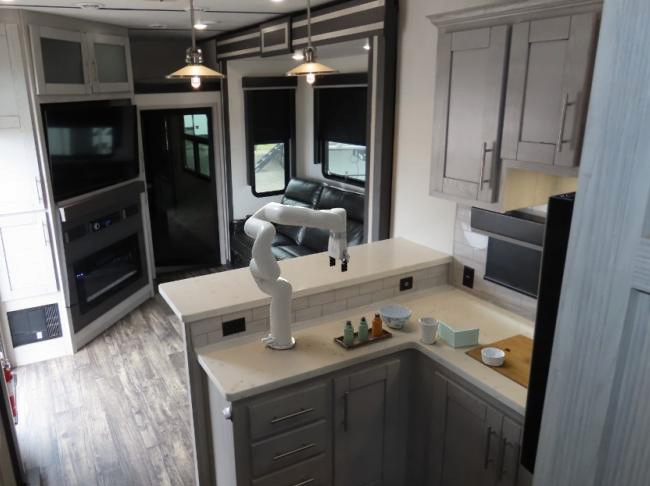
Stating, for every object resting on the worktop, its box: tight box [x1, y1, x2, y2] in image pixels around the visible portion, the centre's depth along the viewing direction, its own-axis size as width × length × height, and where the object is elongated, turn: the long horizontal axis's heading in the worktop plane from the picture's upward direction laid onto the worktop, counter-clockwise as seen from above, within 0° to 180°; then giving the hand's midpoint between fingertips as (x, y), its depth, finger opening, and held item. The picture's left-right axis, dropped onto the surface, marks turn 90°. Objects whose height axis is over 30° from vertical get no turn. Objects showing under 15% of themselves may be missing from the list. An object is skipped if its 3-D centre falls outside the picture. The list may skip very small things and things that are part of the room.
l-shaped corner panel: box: [438, 320, 480, 349], centre depth 228 cm, size 12×12×8 cm
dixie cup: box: [418, 316, 440, 345], centre depth 228 cm, size 8×8×10 cm
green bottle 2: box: [357, 316, 369, 341], centre depth 232 cm, size 5×5×10 cm
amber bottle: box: [371, 312, 383, 337], centre depth 235 cm, size 5×5×10 cm
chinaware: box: [378, 304, 412, 330], centre depth 245 cm, size 15×15×8 cm
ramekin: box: [480, 347, 506, 367], centre depth 209 cm, size 9×9×4 cm
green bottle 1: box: [342, 320, 355, 345], centre depth 229 cm, size 5×5×10 cm
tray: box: [333, 326, 393, 351], centre depth 233 cm, size 25×10×2 cm, turn 116°
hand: (338, 268), depth 245 cm, fingers open, 9 cm apart
